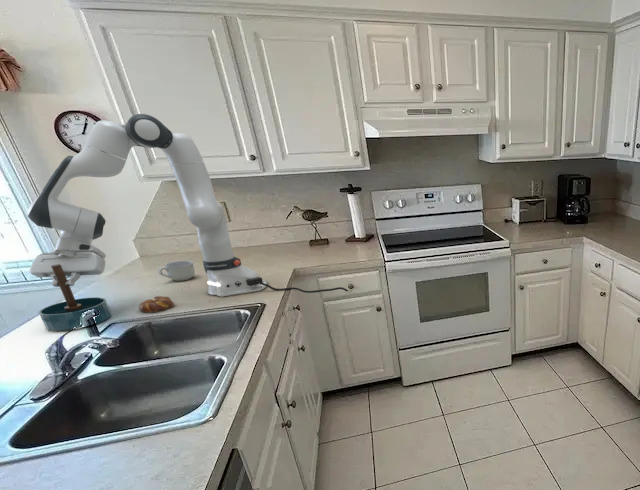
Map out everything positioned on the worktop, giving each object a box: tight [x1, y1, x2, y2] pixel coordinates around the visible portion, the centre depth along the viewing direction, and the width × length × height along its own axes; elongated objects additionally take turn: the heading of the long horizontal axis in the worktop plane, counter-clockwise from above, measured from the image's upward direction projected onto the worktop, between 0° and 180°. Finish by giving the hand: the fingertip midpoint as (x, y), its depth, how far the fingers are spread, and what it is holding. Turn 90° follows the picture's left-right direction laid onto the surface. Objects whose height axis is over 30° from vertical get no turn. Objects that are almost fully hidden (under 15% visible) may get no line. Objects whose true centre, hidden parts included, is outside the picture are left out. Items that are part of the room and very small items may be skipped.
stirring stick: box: [51, 264, 82, 311], centre depth 144 cm, size 4×4×16 cm
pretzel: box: [137, 295, 175, 313], centre depth 161 cm, size 12×11×4 cm
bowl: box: [38, 296, 112, 332], centre depth 148 cm, size 17×17×6 cm
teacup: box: [158, 259, 196, 282], centre depth 194 cm, size 14×11×8 cm
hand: (62, 285), depth 143 cm, fingers closed on stirring stick, 2 cm apart
